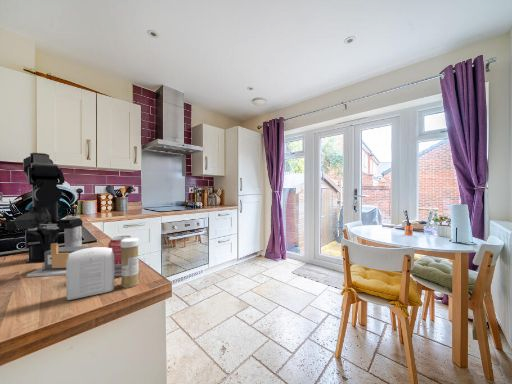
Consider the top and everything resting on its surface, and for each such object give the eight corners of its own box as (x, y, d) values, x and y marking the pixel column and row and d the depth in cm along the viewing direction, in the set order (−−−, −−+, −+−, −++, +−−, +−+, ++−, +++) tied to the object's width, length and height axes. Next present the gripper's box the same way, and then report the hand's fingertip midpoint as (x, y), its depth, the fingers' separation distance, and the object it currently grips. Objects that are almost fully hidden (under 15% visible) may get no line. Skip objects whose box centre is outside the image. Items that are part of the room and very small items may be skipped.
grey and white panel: (26, 276, 68) (26, 255, 68) (58, 262, 81) (57, 244, 81) (89, 273, 70) (88, 253, 70) (110, 260, 83) (109, 243, 83)
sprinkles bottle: (118, 285, 62) (118, 239, 62) (135, 280, 66) (135, 236, 65) (124, 290, 59) (123, 242, 59) (141, 284, 63) (141, 239, 63)
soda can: (130, 267, 76) (130, 234, 75) (136, 273, 71) (136, 237, 70) (106, 273, 71) (105, 237, 70) (111, 280, 66) (110, 241, 65)
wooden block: (51, 268, 71) (50, 243, 71) (53, 267, 72) (52, 243, 71) (67, 267, 71) (67, 243, 71) (69, 266, 72) (69, 242, 72)
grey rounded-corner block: (114, 285, 62) (114, 243, 62) (114, 291, 58) (114, 246, 58) (68, 295, 56) (67, 249, 56) (64, 302, 53) (64, 253, 53)
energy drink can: (77, 246, 103) (76, 215, 102) (84, 248, 100) (84, 216, 100) (61, 249, 97) (61, 217, 97) (69, 251, 95) (68, 217, 94)
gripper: (-15, 204, 61) (-14, 259, 61) (58, 204, 63) (59, 256, 64) (22, 202, 72) (23, 248, 72) (83, 201, 75) (83, 246, 75)
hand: (46, 249), depth 71 cm, fingers closed
